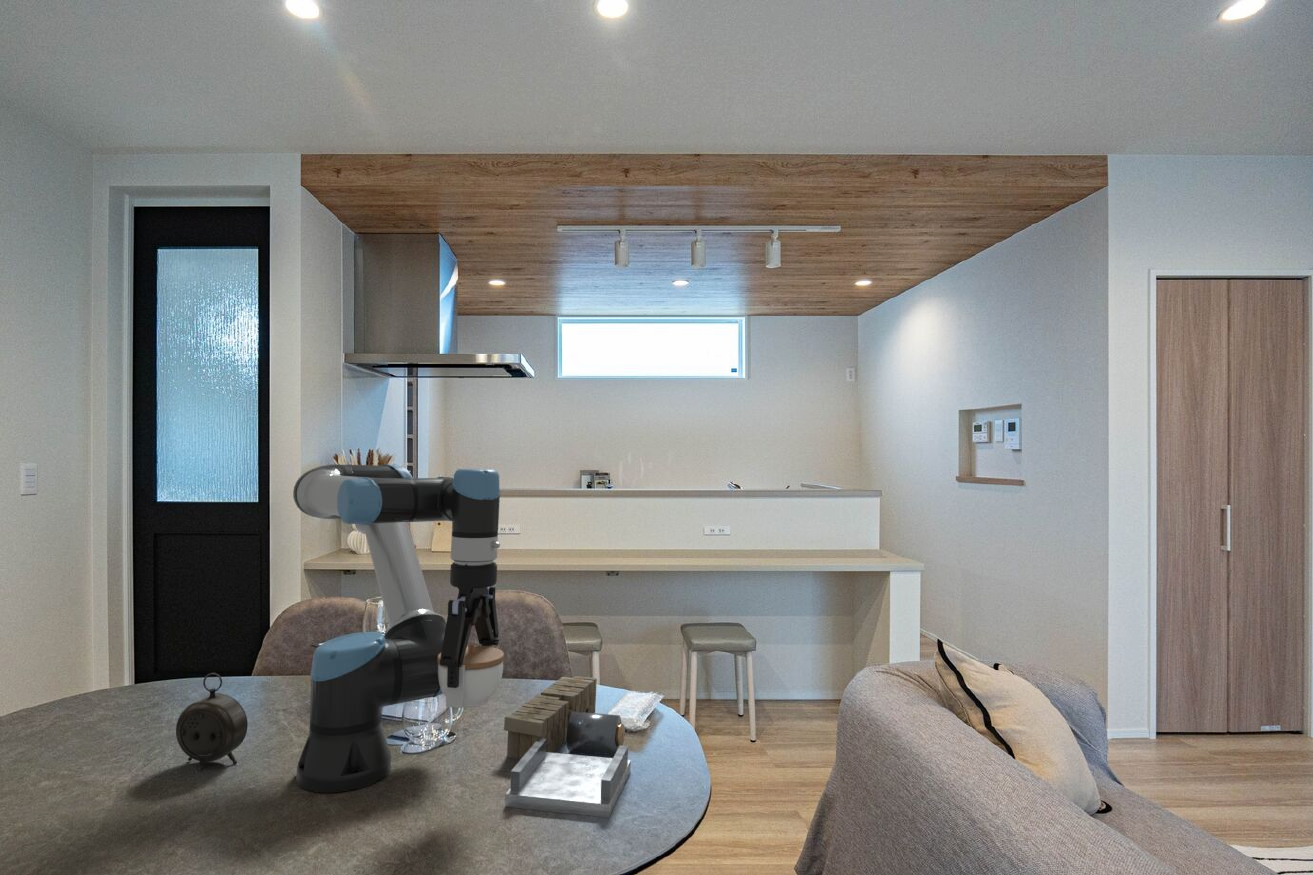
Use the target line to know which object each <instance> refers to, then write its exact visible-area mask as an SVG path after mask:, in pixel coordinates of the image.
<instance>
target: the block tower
mask: <svg viewBox="0 0 1313 875" xmlns="http://www.w3.org/2000/svg"><path fill="white" fill-rule="evenodd" d="M596 699H597V678H596V677H592V676H591V677H590V676H586V677H585V676H579V675H575V676H573V677H570V676H569V677H567V676H561V677H560V678H559V679H558V680H556V681H554V682H553V683H552V684H550V685H549V686H548V687H546V688H545V689H543V690H542V691H541V692H540V694H536V695H535V696H534V697H532V698H531V699H530V700H528V701H526V702H525V703H524V704H523V705H521V706H520V707H519V708H518V709H516V710H515V711H513V712H512V713H511V714H507V715H506V716H504V723H503V724H504V726H503V731H506V732H507V747H506V749H507V750H506V757H509V758H513V759H514V758H515V759H519V760H521V759H522V757H523V756H524V755H525V754H526V753H527V752H528V750H529V749H530V748H531V747H532V746H533V744H534V743H535V742H536V741H537V740H538V739H539V738H541V739H547V748H546V752H549V753H555V751H556V750H557V749H558V748H559V746H561V745H562V744H563V743H564V742H566V736H567V727H568V722H569V718H570V715H571V713H572V712H585V713H596V704H597V703H596V702H597V701H596Z"/></svg>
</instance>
